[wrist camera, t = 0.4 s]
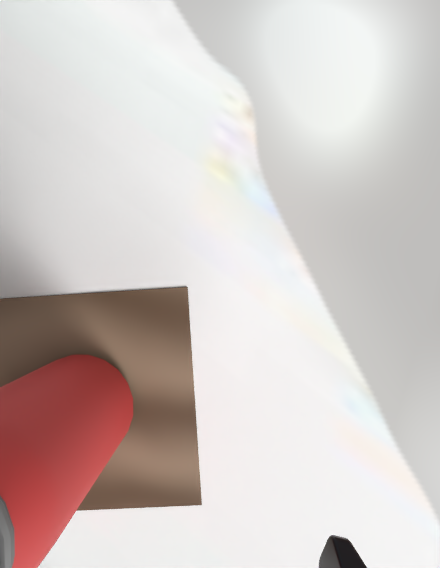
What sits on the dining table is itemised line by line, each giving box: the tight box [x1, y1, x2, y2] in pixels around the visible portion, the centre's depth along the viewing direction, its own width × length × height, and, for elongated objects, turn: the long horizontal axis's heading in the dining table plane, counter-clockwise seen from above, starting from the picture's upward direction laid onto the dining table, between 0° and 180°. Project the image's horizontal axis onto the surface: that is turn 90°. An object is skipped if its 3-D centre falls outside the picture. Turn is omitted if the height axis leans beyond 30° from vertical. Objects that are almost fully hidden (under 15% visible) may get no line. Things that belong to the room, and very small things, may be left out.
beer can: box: [0, 355, 133, 568], centre depth 16 cm, size 7×7×12 cm
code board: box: [0, 287, 202, 510], centre depth 23 cm, size 14×14×1 cm
